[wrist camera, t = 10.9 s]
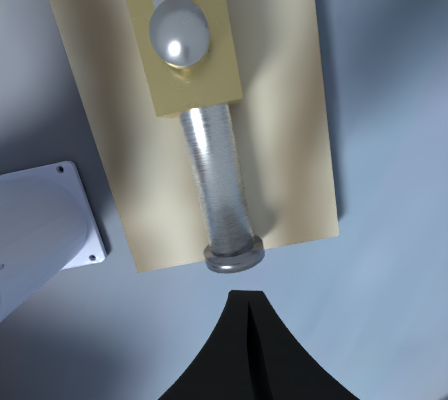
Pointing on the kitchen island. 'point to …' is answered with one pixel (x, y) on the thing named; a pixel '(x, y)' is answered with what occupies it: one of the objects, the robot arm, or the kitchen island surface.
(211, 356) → the robot arm
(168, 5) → the valve lever
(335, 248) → the kitchen island surface
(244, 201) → the valve pipe
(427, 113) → the kitchen island surface
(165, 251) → the valve board
